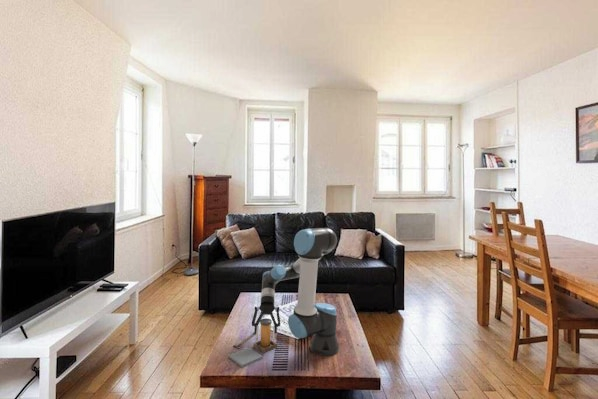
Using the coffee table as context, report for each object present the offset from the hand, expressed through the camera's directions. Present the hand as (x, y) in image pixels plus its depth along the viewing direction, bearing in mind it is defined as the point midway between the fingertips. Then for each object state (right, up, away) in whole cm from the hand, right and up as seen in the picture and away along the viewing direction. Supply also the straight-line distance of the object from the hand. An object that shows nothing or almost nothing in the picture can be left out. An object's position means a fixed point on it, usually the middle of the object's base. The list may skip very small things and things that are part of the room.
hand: (265, 339), depth 168 cm
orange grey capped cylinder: (0, -5, +4) cm, 7 cm away
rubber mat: (-9, -6, -8) cm, 13 cm away
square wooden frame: (0, -5, +4) cm, 7 cm away
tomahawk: (-10, -6, +11) cm, 16 cm away
